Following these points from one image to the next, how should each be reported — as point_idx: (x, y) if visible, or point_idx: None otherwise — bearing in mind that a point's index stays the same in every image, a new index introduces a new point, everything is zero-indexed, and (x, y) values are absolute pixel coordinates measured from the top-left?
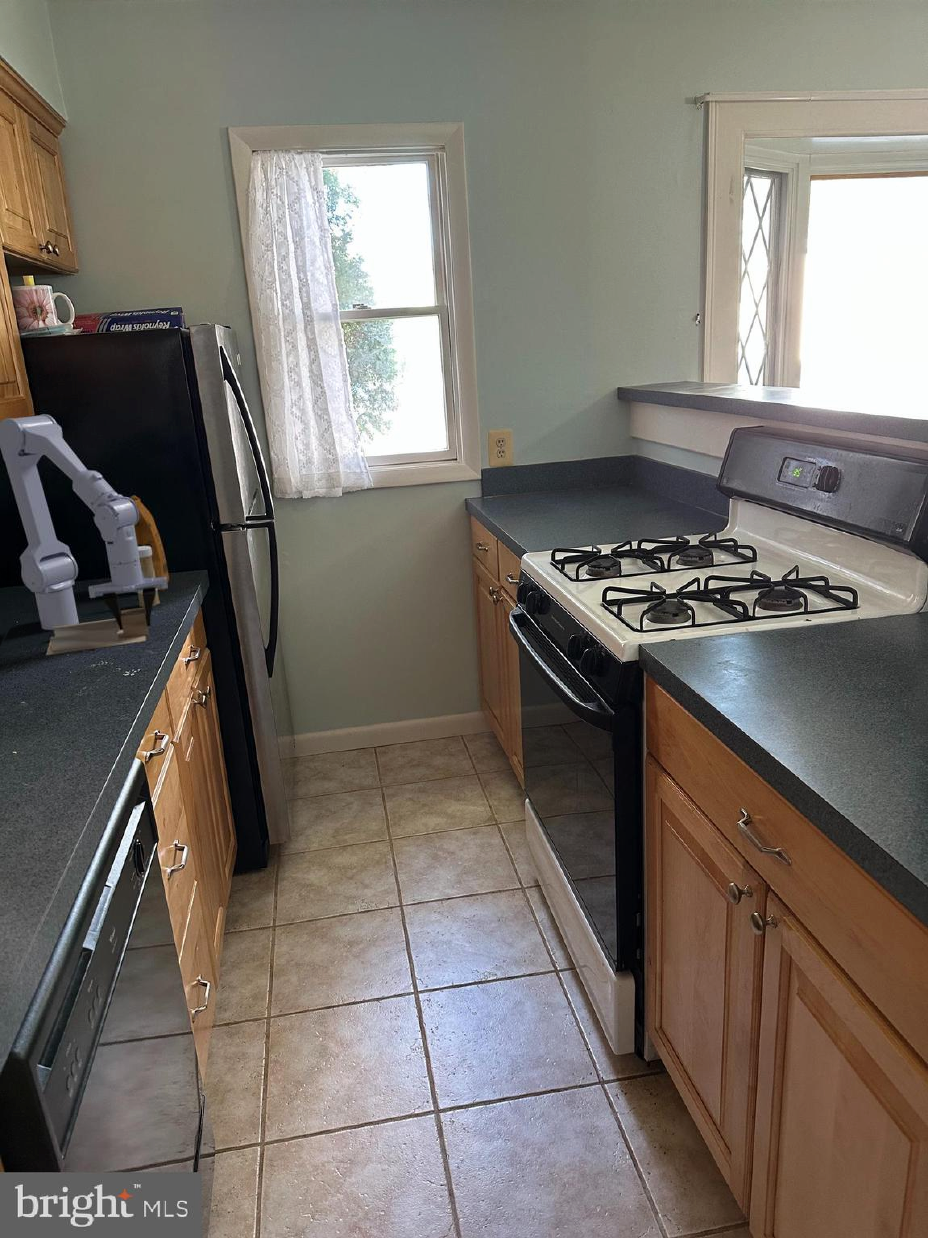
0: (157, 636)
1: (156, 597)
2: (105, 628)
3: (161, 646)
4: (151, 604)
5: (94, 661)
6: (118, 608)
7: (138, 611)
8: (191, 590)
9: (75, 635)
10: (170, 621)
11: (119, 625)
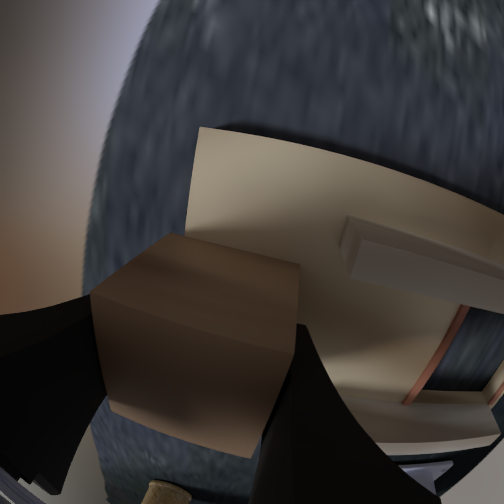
0: None
1: (148, 493)
2: None
3: (151, 73)
4: (8, 317)
5: (477, 71)
6: (292, 433)
7: (138, 377)
8: (106, 478)
9: None
10: None
11: (308, 338)
